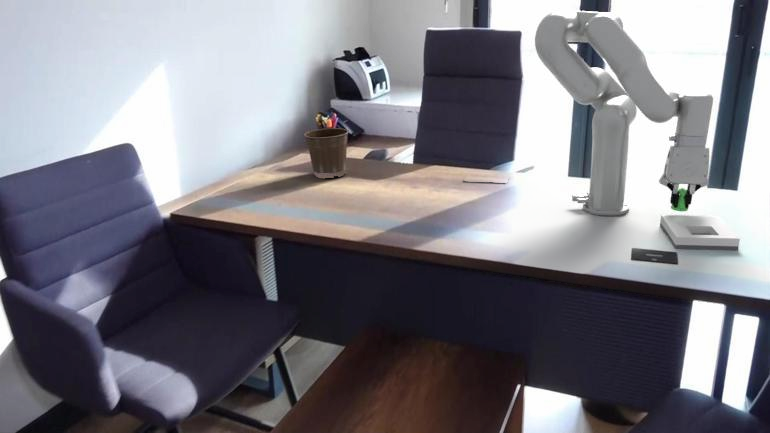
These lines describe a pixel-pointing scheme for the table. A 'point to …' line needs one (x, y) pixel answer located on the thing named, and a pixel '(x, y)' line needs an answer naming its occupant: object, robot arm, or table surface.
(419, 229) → the table surface
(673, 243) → the white square slotted base
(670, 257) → the solid state drive
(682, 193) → the game piece
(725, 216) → the table surface
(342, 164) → the plant pot
